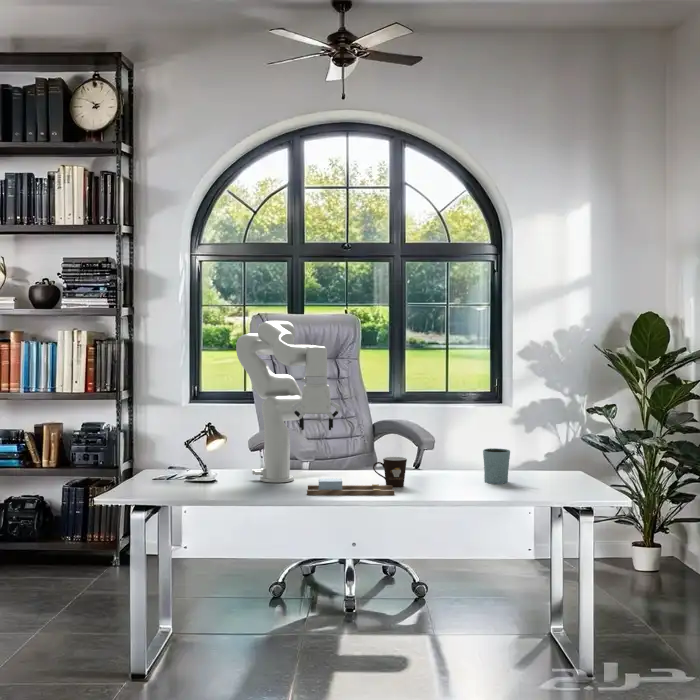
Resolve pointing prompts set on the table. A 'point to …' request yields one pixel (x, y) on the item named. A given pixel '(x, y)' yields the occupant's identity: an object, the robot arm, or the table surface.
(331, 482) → the block
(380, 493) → the wooden rail frame
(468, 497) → the table surface
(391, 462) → the coffee mug
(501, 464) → the green tapered cup
